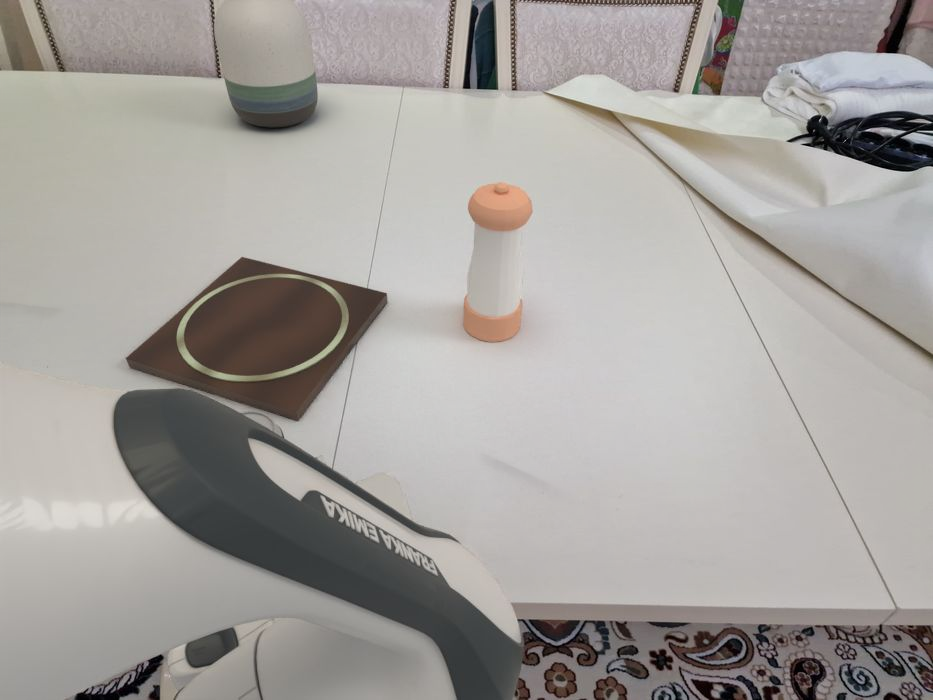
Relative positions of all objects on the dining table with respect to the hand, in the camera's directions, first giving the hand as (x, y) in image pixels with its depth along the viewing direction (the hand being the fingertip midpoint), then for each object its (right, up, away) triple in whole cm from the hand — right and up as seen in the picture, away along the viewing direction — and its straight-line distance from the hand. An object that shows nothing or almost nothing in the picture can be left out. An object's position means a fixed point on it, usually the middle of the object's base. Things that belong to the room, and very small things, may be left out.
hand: (259, 483), depth 51 cm
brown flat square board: (-7, +13, +24) cm, 28 cm away
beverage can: (0, -4, +5) cm, 7 cm away
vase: (-20, +58, +72) cm, 94 cm away
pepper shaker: (+21, +14, +26) cm, 36 cm away
